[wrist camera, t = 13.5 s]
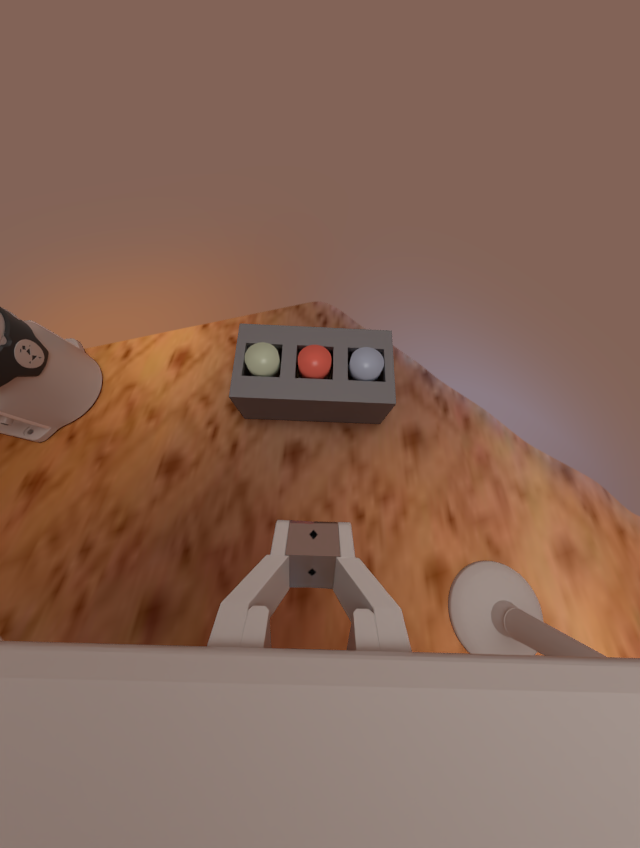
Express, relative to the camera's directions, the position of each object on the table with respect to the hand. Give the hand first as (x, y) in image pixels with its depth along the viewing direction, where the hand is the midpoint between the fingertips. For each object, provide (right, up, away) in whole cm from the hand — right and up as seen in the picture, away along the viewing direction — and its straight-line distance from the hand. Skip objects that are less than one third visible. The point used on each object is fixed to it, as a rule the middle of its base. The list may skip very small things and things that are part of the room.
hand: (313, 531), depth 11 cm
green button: (-8, +13, +30) cm, 34 cm away
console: (-1, +11, +36) cm, 38 cm away
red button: (-1, +13, +31) cm, 33 cm away
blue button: (+7, +12, +31) cm, 34 cm away
